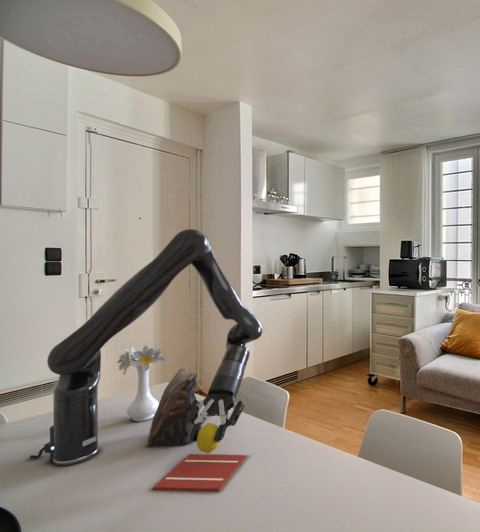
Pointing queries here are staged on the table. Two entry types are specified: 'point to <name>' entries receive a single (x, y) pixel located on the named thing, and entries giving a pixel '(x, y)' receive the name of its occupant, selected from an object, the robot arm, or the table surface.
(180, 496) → the table surface
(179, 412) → the brown rock
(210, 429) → the lemon
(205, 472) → the pot holder
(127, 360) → the flower vase
